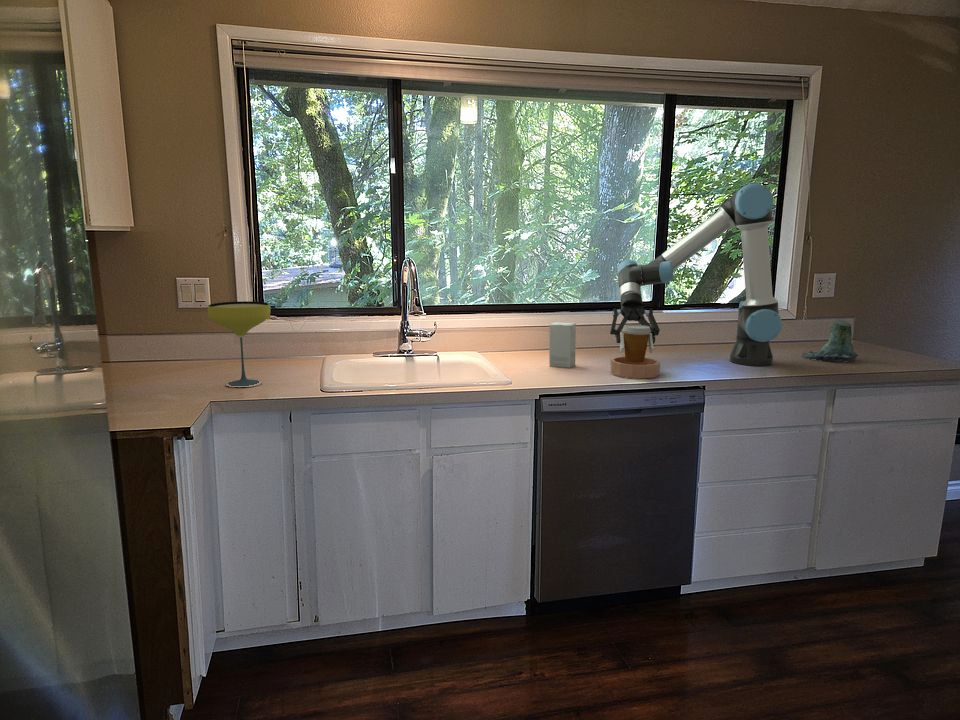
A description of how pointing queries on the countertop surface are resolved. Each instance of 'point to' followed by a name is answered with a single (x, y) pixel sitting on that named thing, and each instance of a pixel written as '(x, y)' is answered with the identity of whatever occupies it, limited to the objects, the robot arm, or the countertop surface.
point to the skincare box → (562, 344)
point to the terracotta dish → (635, 368)
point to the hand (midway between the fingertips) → (636, 350)
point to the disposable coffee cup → (635, 342)
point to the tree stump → (836, 345)
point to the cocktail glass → (239, 324)
